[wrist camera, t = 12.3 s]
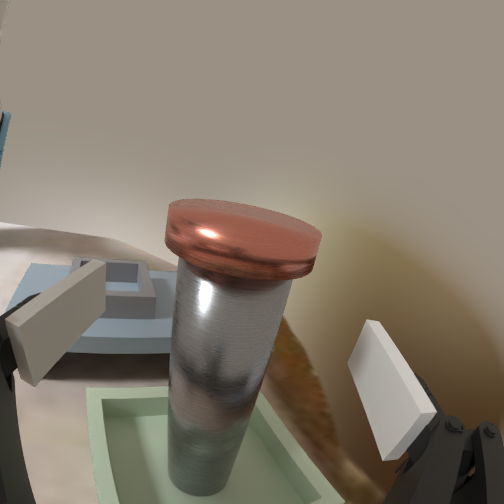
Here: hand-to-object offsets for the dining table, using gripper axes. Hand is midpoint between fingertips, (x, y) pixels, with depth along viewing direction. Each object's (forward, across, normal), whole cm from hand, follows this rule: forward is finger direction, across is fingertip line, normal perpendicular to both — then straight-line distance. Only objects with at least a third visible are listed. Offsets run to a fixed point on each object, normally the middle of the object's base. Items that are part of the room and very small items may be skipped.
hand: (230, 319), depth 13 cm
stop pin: (-3, 0, -10) cm, 10 cm away
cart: (+10, -11, -11) cm, 18 cm away
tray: (-3, 0, -11) cm, 11 cm away
